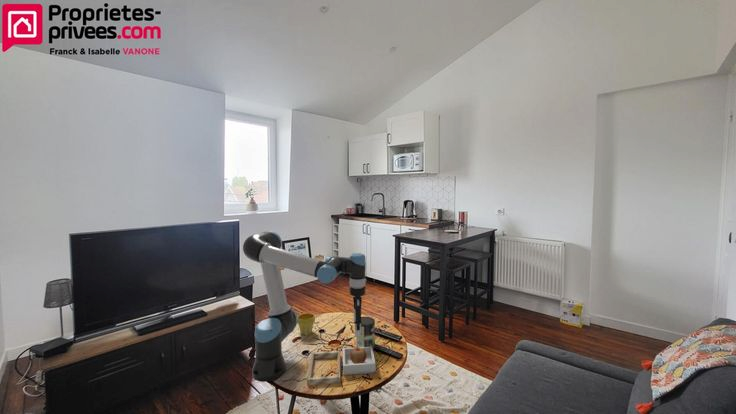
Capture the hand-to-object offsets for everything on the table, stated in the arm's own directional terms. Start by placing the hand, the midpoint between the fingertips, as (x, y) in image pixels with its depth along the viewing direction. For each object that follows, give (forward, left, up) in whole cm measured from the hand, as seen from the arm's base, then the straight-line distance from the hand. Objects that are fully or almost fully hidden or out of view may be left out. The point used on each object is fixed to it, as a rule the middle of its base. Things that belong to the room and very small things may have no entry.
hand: (357, 329), depth 143 cm
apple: (0, 0, -17) cm, 17 cm away
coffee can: (+5, +17, -18) cm, 25 cm away
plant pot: (-29, +36, -18) cm, 49 cm away
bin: (0, 0, -18) cm, 18 cm away
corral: (-16, -2, -18) cm, 24 cm away
